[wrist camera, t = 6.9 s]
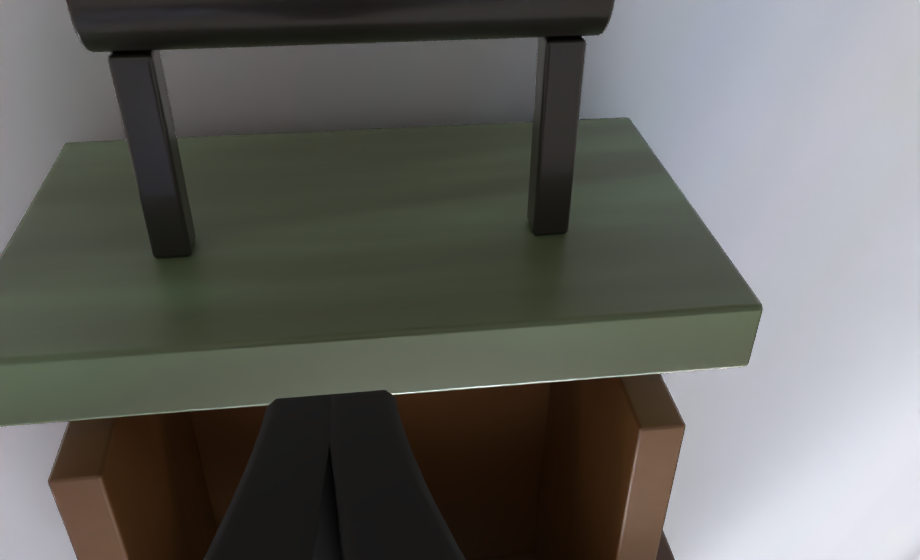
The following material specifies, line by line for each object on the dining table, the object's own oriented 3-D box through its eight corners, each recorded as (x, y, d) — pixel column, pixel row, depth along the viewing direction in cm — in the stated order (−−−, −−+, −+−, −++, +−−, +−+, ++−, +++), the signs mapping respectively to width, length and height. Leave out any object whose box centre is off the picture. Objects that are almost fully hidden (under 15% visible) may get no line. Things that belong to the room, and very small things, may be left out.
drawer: (-10, -126, 14) (-230, -3, 8) (662, -133, 15) (855, -31, 10) (184, 573, 24) (142, 835, 19) (574, 534, 26) (643, 767, 20)
